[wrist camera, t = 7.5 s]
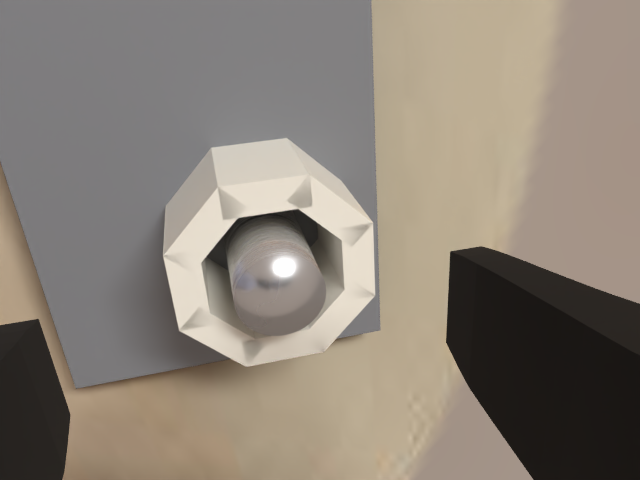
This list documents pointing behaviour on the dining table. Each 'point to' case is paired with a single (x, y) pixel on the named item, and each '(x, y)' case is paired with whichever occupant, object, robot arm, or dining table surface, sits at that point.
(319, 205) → the cream ring
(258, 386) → the dining table surface
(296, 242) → the steel post
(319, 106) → the gray board
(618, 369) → the robot arm
